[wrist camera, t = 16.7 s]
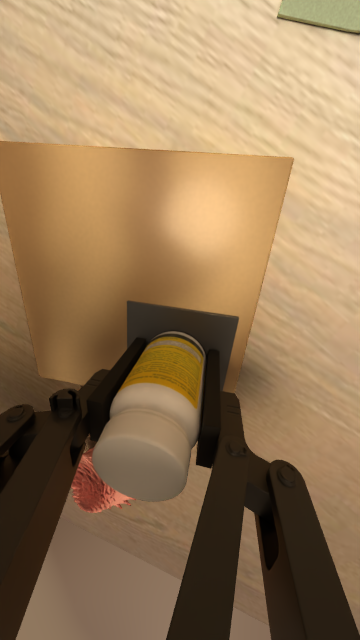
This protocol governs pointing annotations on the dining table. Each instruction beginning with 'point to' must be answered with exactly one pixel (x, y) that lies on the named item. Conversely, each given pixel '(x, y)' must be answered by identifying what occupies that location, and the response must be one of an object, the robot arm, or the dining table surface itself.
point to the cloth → (324, 13)
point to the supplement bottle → (154, 421)
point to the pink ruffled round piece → (94, 488)
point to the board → (138, 249)
